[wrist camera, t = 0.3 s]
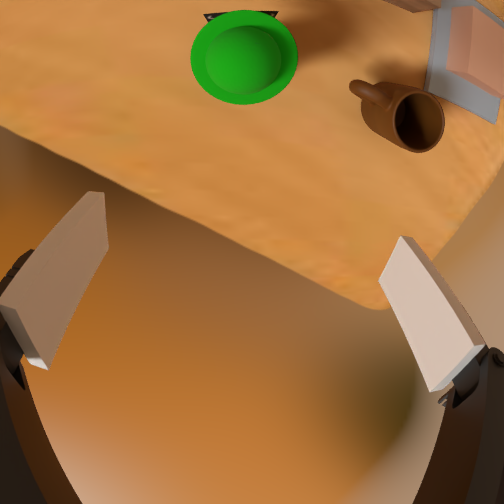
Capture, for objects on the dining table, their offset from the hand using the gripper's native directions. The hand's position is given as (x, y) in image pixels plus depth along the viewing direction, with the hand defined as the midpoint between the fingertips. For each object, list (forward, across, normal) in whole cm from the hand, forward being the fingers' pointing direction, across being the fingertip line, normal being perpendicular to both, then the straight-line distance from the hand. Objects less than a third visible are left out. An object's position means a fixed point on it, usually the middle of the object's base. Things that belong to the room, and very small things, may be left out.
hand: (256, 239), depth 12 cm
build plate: (+27, +30, +22) cm, 46 cm away
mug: (+27, +16, +7) cm, 32 cm away
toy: (+27, -2, +8) cm, 28 cm away
